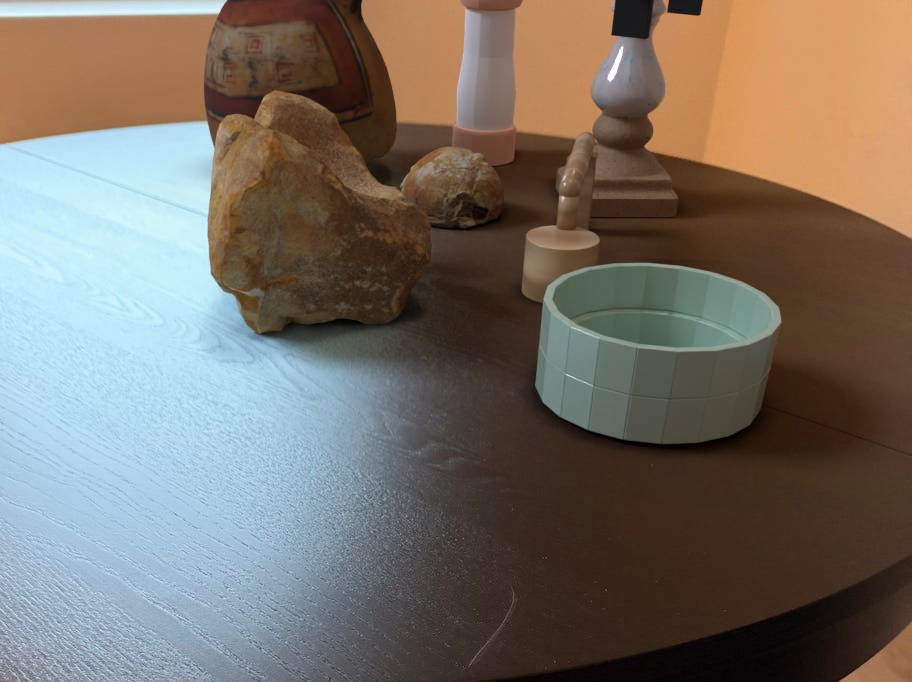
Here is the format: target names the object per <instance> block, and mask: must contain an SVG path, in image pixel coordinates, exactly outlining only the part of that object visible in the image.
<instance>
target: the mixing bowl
mask: <svg viewBox="0 0 912 682" xmlns="http://www.w3.org/2000/svg"><path fill="white" fill-rule="evenodd" d="M541 309H542V311H541V320H540V321H541V322H540V332H539V342H538V354H537V363H536V365H537V366H536V375H535V384H534V385H535V388H536V391H537V393H538V396H539V398H540V400H541V402H542V403H543V404H544V405H545V406H546V407H547V408H549V409H550V410H551V411H552V412H553V413H554V414H555V415H557V416H558V417H559V418H561V419H563V420H565V421H568V422H569V423H572V424H574V425H575V426H578V427H580V428H582V429H584V430H586V431H589V432H592V433H596V434H599V435H604V436H607V437H610V438H614V439H619V440H622V441H623V440H624V441H631V442H639V443H648V444H657V445H676V444H677V445H679V444H698V443H699V444H700V443H704V442H708V441H712V440H717V439H721V438H726V437H727V438H728V437H730V436H732V435H734V434H736V433H738V432H740V431H741V430H743V429H746V428H747V427H749V426H751V425H752V423H753V421H754V420H755V419H756V417H757V416H758V414H759V413H760V411H761V409H762V405H763V401H764V397H765V392H766V388H767V384H768V380H769V376H770V372H771V367H772V364H773V359H774V355H775V351H776V347H777V343H778V339H779V335H780V331H781V327H782V323H783V322H782V316H781V310H780V307H779V306H778V304H776V303H775V302H774V301H773V300H772V299H771V298H770V297H769V296H768V295H767V294H766V293H765V292H763V291H761V290H759V289H757V288H755V287H753V286H752V285H750V284H748V283H746V282H744V281H741V280H738V279H735V278H732V277H729V276H726V275H723V274H721V273H717V272H714V271H709V270H704V269H700V268H694V267H690V266H683V265H677V264H676V265H675V264H665V263H653V262H621V263H620V262H618V263H617V262H616V263H608V264H600V265H597V266H593V267H586V268H582V269H579V270H576V271H573V272H570V273H567V274H564V275H562V276H560V277H559V278H558V279H556V280H555V281H554V282H552V283H551V284H550V285H548V286H547V289H546V292H545V296H544V299H543V303H542V308H541Z"/></svg>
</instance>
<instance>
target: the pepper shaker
mask: <svg viewBox="0 0 912 682" xmlns="http://www.w3.org/2000/svg"><path fill="white" fill-rule="evenodd" d="M523 1H524V0H460V3H461V5H462V6H464V7H465V9H464V31H463V51H462V59H461V63H460V70H459V75H458V81H457V87H456V121H455V122H454V123H453V124H452V139H451V141H452V142H451V146H452V147H461V148H465V149H468V150H470V151H472V152H473V153H480V154H482V155H483V156H484V157H485V159H486V162H487V163H488V164H489V165H490V166H491V167H495V166H503V165H507V164H510V163H512V162H513V161H514V160H515V151H516V138H517V137H516V136H517V127H516V124H515V123H514V117H515V107H516V106H515V105H516V97H517V96H516V94H517V91H516V90H517V89H516V76H515V62H514V48H515V47H514V45H515V27H516V13H517V11H516V9H517V8H520V7H521V5H522V3H523Z"/></svg>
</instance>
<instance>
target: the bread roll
mask: <svg viewBox="0 0 912 682" xmlns="http://www.w3.org/2000/svg"><path fill="white" fill-rule="evenodd" d="M400 191H401V192H403V193H404V194H405V195H407V196H408V197H410V198H411V199H412V200H413V202H415V203H417V204H418V206H419V207H420V208H421V209H422V210H423V211H424V212H425V214H426V215H427V216H428V219H429V222H430V225H431V226H434V227H438V228H443V229H455V228H459V229H461V230H465V229H467V228H471V227H475V226H479V225H483V224H486V223H487V222H491V221H494V220H496V219H498V217H499V216H500V215H501V212H502V210H503V207H504V202H505V192H504V187H503V184H502V181H501V178H500V177H499V175H498V173H497V171H496V169H495V168H494V167H493V166H490V165H489V164H488V163H487V162H486V159H485V157H484V156H483V155H482V154H480V153H473V152H472V151H470V150H468V149H465V148H461V147H452V145H449V146H443V147H439V148H436V149H434V150H433V151H431V152H429V153H427V154H425V156H423V157H421V158H420V159H419V160H418V161H417V162H416V163H415V164H414V165H412V166H411V167H410V171H409V173H407V174H406V176H405V177H404V178H403V180H402V182H401V183H400Z"/></svg>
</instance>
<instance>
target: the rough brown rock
mask: <svg viewBox="0 0 912 682" xmlns="http://www.w3.org/2000/svg"><path fill="white" fill-rule="evenodd" d="M213 149H214V150H213V155H212V166H211V177H210V178H211V179H210V180H211V181H210V193H209V194H210V195H209V203H208V213H207V235H206V236H207V242H208V260H209V268H210V275H211V276H212V278H213V280H214V282H216V284H217V285H218V287H220V289H221V290H222V292H224V293H227V294H231V295H233V296H234V298H235V301H236V306H237V309H238V312H239V314H240V315H241V317H242V319H243V321H244V322H245V325H246V326H247V327H248V328H249V329H250V330H252V331H253V332H254V333H256V334H259V335H260V334H264V333H265V334H266V333H271V332H281V331H283V329H284V328H285V327H286V326H287V325H288V324H290V323H292V322H293V323H296V324H300V325H308V326H310V325H314V324H325V323H328V322H333V321H335V320H336V319H347V320H352V321H358V322H360V323H362V324H363V325H382V324H389V323H391V322H393V321H395V320H396V319H397V318H398V317H399V316H400V315H401V313H402V311H403V310H404V308H405V305H406V302H407V300H408V297H409V295H410V293H411V291H412V290H413V288H414V287H415V286H416V284H417V283H418V281H420V279H421V278H422V275H423V273H424V271H425V269H427V267H428V265H430V263H431V260H432V248H433V243H432V237H431V233H430V232H431V229H432V225H430V222H429V219H428V216H427V215H426V214H425V212H424V211H423V210H422V209H421V208H420V207H419V206H418V204H417V203H415V202H413V200H412V199H411V198H410V197H408V196H407V195H405V194H404V193H403V192H401V189H399V188H397V187H396V186H391V185H385V184H382V183H381V182H379V181H378V180H377V178H375V177H374V175H373V174H372V172H371V171H370V170H369V168H368V166H367V164H365V161H364V159H363V157H362V155H361V153H360V152H359V151H358V150H357V149H356V148H355V147H354V146H353V144H352V142H351V140H350V138H349V137H348V135H347V134H346V133H345V132H344V131H343V129H342V128H341V127H340V126H339V123H338V121H337V118H336V115H335V114H334V113H332V112H330V111H329V110H328V109H327V108H325V107H323V106H321V105H320V104H318V103H316V102H314V101H313V100H311V99H309V98H306V97H304V96H300V95H296V94H291V93H286V92H281V91H275V90H274V91H273V92H271V93H269V94H267V95H266V96H264V98H263V100H262V102H261V104H260V107H259V109H258V111H257V114H256V116H255V118H254V119H252V118H250V117H248V116H246V115H241V114H232V115H228V116H226V117H225V118H224V119H223V121H222V122H221V123H220V125H219V128H218V131H217V135H216V141H215V148H213Z"/></svg>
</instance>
